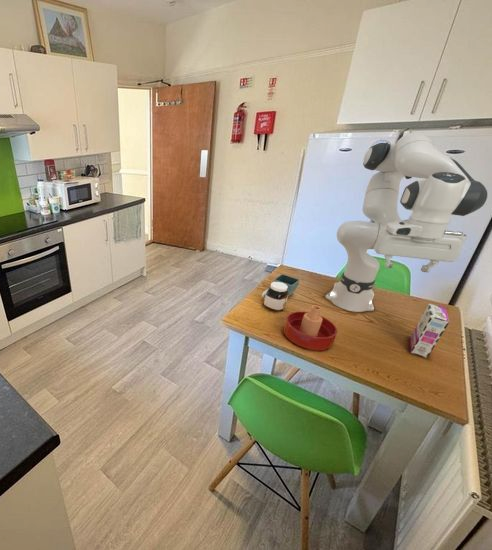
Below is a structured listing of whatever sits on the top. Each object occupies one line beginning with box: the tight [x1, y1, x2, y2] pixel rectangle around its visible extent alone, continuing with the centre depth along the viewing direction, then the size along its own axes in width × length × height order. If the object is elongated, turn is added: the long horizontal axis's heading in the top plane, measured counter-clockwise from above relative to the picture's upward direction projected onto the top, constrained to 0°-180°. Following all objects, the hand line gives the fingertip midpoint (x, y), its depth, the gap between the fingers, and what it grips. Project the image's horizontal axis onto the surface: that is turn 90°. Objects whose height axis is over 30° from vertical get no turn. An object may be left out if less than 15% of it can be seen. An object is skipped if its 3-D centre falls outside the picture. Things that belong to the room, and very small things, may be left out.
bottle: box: [299, 305, 323, 337], centre depth 115 cm, size 6×6×14 cm
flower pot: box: [273, 273, 301, 298], centre depth 144 cm, size 9×9×9 cm
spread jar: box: [261, 281, 289, 312], centre depth 137 cm, size 12×11×12 cm
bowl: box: [283, 311, 338, 351], centre depth 117 cm, size 17×17×6 cm
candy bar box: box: [409, 303, 450, 359], centre depth 107 cm, size 11×5×16 cm, turn 141°
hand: (405, 269), depth 97 cm, fingers open, 8 cm apart
